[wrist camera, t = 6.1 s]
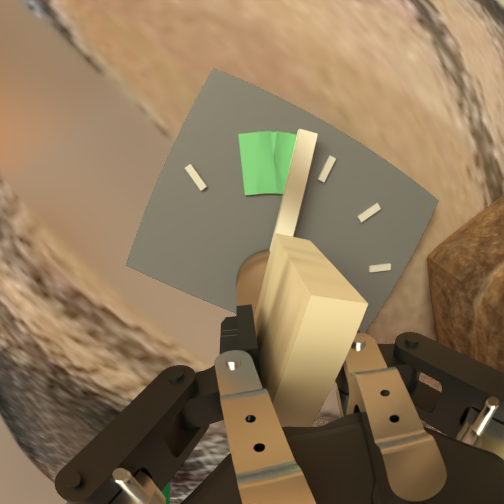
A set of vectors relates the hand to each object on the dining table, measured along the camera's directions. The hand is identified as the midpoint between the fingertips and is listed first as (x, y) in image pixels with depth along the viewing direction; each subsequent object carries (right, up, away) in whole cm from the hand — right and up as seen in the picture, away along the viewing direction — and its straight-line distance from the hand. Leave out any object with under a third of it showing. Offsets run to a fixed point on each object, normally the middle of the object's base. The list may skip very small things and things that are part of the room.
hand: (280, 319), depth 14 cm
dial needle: (0, +4, +4) cm, 5 cm away
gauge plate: (+1, +5, +5) cm, 7 cm away
